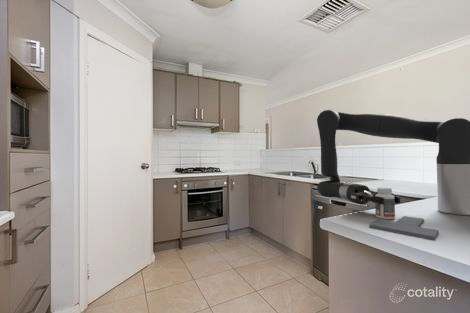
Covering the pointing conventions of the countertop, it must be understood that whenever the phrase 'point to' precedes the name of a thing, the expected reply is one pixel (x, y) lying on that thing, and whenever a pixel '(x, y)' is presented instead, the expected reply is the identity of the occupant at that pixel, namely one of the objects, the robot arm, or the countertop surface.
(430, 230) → the t mat
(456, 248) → the countertop surface
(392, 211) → the pill bottle
